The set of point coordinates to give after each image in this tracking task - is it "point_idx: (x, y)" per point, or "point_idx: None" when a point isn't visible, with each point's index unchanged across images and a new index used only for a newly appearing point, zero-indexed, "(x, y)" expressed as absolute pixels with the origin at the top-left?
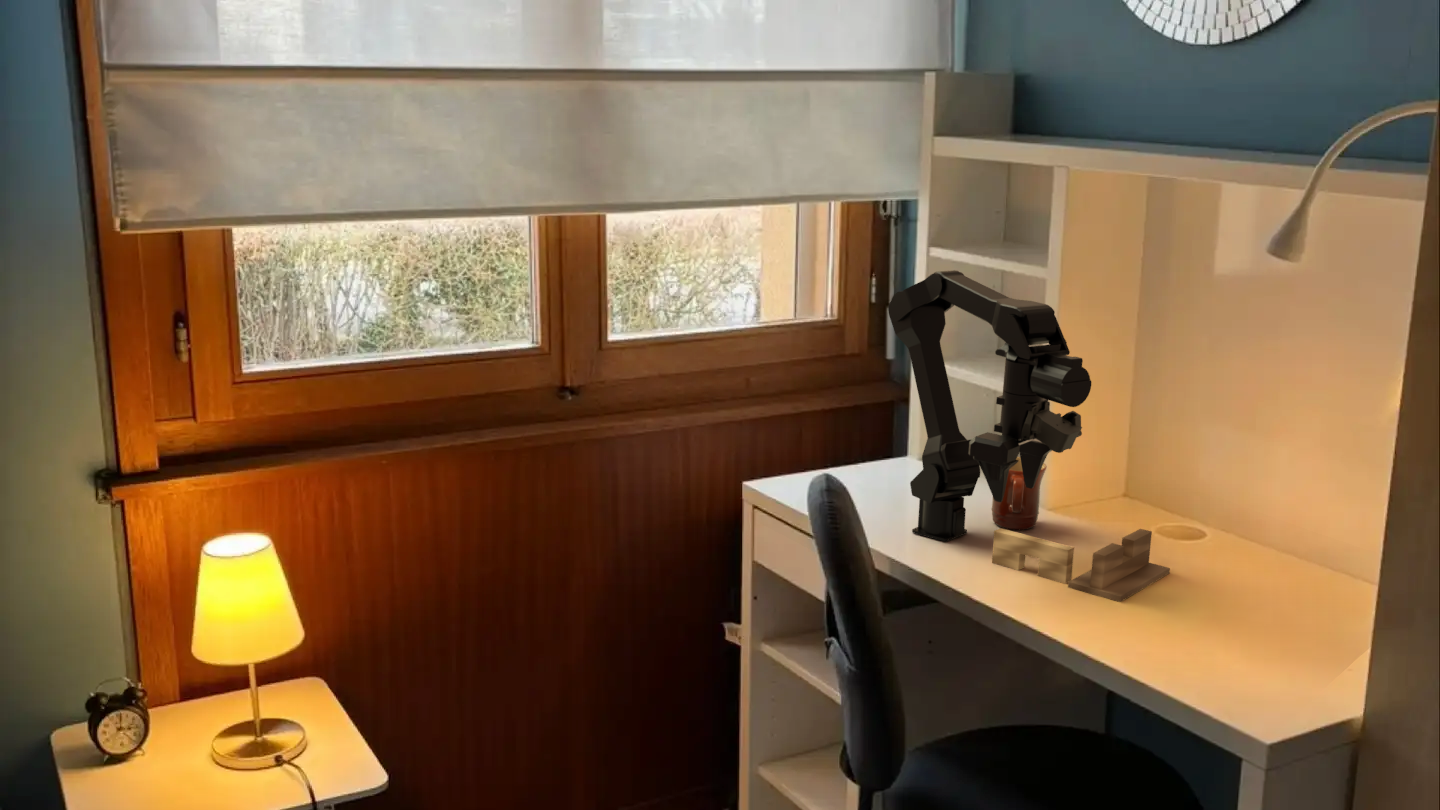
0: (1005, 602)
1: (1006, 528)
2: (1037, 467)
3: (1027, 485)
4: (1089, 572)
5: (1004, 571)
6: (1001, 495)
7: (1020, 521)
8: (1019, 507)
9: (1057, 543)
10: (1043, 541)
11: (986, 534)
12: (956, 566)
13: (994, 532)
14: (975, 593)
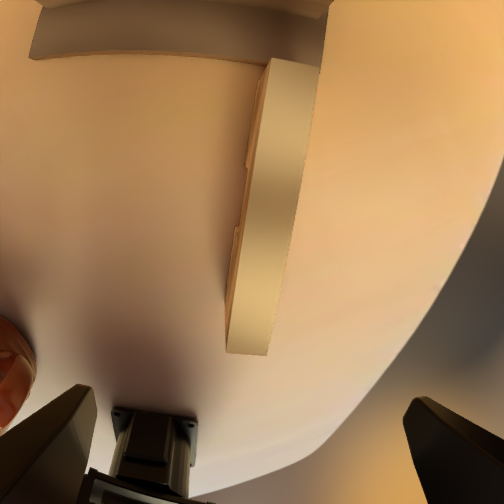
0: (467, 182)
1: (32, 353)
2: (30, 475)
3: (92, 414)
4: (207, 46)
5: (297, 255)
6: (453, 412)
7: (11, 339)
8: (23, 363)
9: (265, 123)
10: (275, 177)
11: (86, 376)
12: (325, 350)
13: (265, 352)
14: (451, 251)
